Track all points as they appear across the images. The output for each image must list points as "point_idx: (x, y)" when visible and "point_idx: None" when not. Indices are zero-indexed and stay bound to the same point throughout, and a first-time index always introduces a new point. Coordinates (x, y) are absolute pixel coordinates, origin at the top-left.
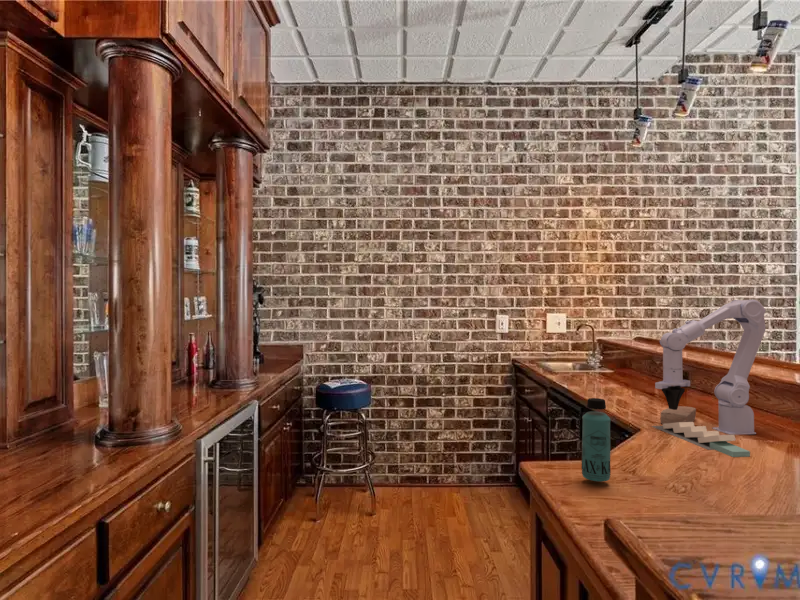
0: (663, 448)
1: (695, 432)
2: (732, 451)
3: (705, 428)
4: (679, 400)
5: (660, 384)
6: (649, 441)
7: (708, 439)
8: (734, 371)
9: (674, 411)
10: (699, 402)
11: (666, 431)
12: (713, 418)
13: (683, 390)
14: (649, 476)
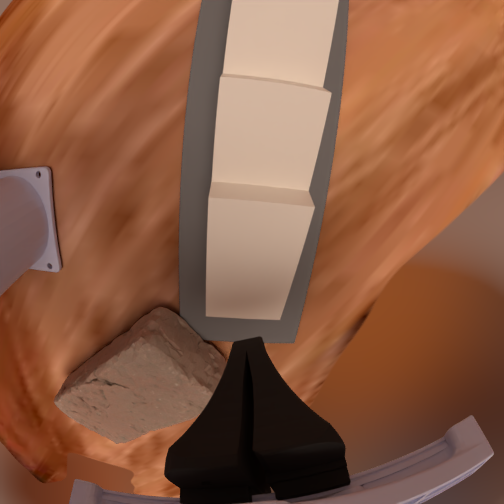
0: (469, 71)
1: (327, 56)
2: None
3: (226, 75)
4: (220, 385)
5: (489, 447)
6: (459, 154)
7: None
8: None
9: (155, 398)
10: (25, 441)
11: (302, 259)
12: (19, 368)
13: (192, 453)
14: None
